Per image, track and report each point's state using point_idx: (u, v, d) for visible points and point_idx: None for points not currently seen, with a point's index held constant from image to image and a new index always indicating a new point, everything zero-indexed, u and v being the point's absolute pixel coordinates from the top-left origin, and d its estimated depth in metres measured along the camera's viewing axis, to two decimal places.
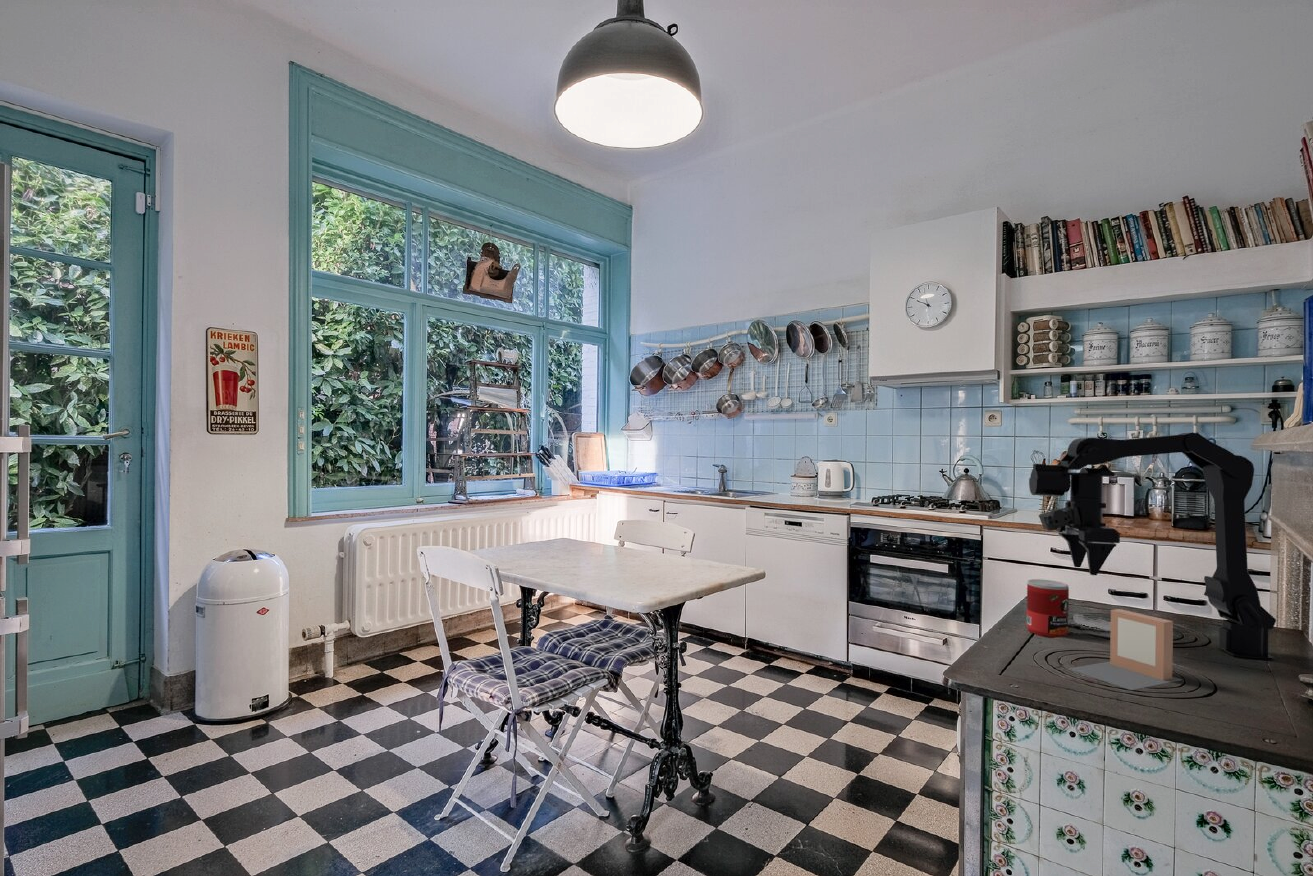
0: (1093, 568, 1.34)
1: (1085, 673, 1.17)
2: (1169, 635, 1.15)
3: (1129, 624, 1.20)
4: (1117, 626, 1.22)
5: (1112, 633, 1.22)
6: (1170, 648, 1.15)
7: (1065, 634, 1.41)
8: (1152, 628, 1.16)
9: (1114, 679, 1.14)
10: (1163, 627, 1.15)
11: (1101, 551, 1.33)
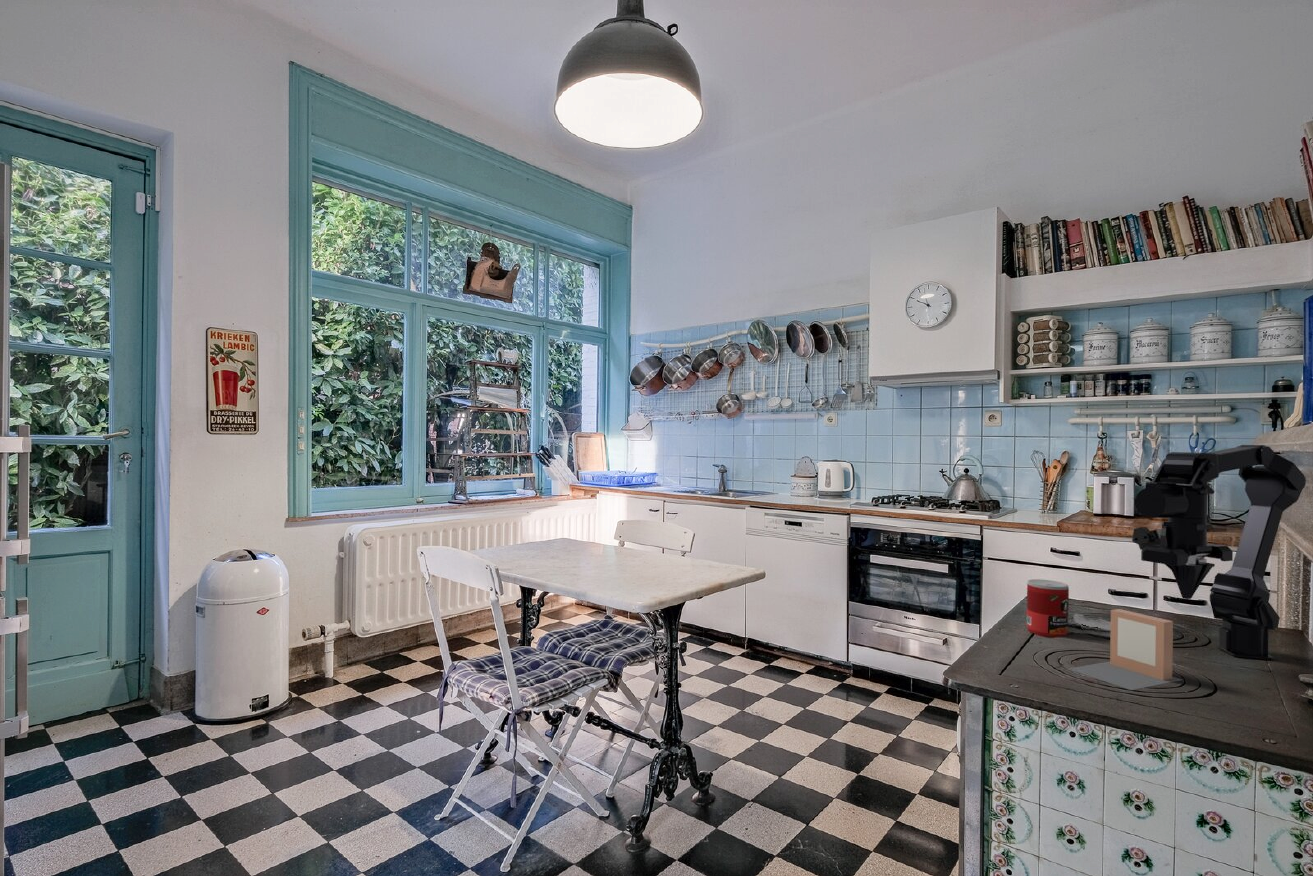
0: (1182, 591, 1.27)
1: (1085, 673, 1.17)
2: (1169, 635, 1.15)
3: (1129, 624, 1.20)
4: (1117, 626, 1.22)
5: (1112, 633, 1.22)
6: (1170, 648, 1.15)
7: (1065, 634, 1.41)
8: (1152, 628, 1.16)
9: (1114, 679, 1.14)
10: (1163, 627, 1.15)
11: (1187, 573, 1.25)
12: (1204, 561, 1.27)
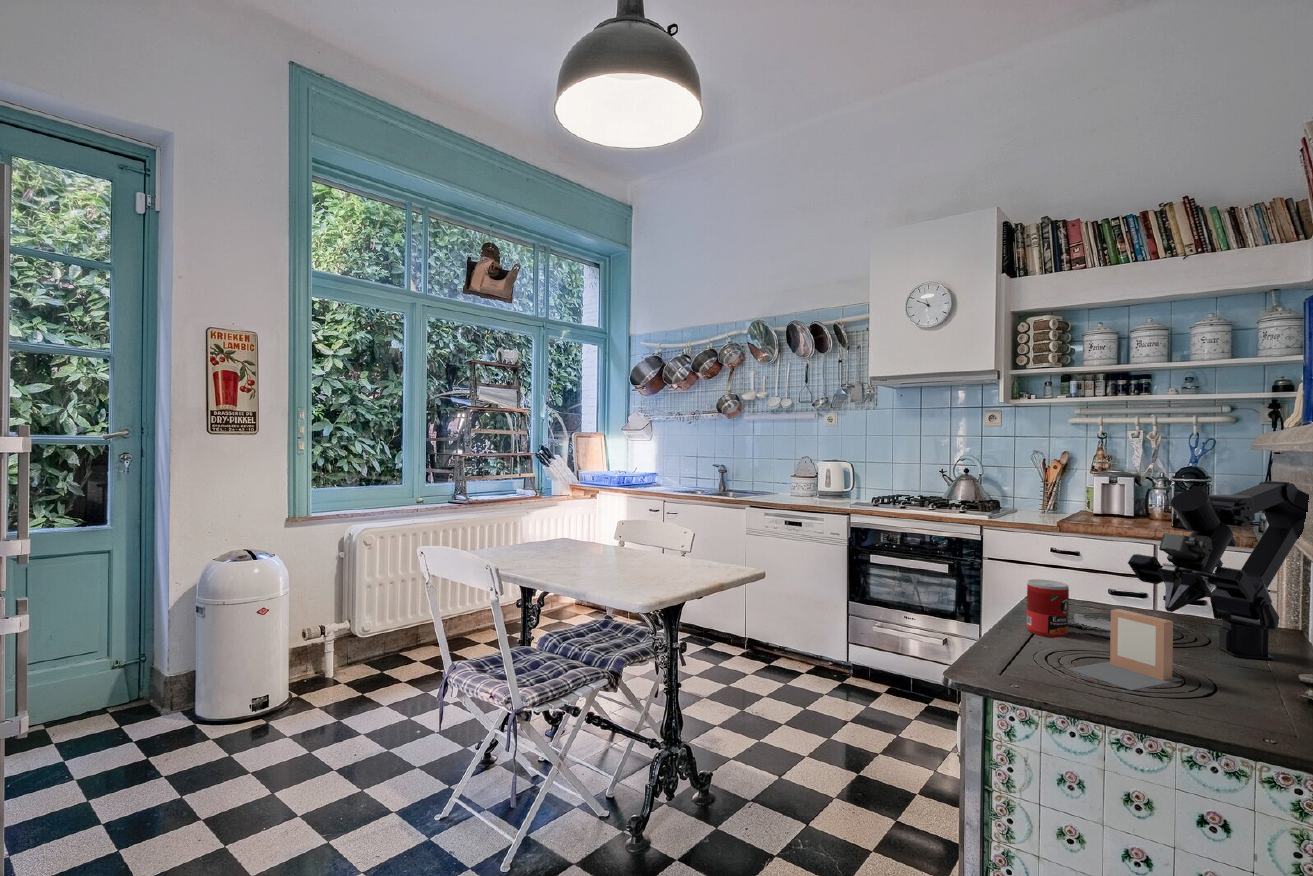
0: (1176, 604, 1.22)
1: (1085, 673, 1.17)
2: (1169, 635, 1.15)
3: (1129, 624, 1.20)
4: (1117, 626, 1.22)
5: (1112, 633, 1.22)
6: (1170, 648, 1.15)
7: (1065, 634, 1.41)
8: (1152, 628, 1.16)
9: (1114, 679, 1.14)
10: (1163, 627, 1.15)
11: (1191, 594, 1.22)
12: None
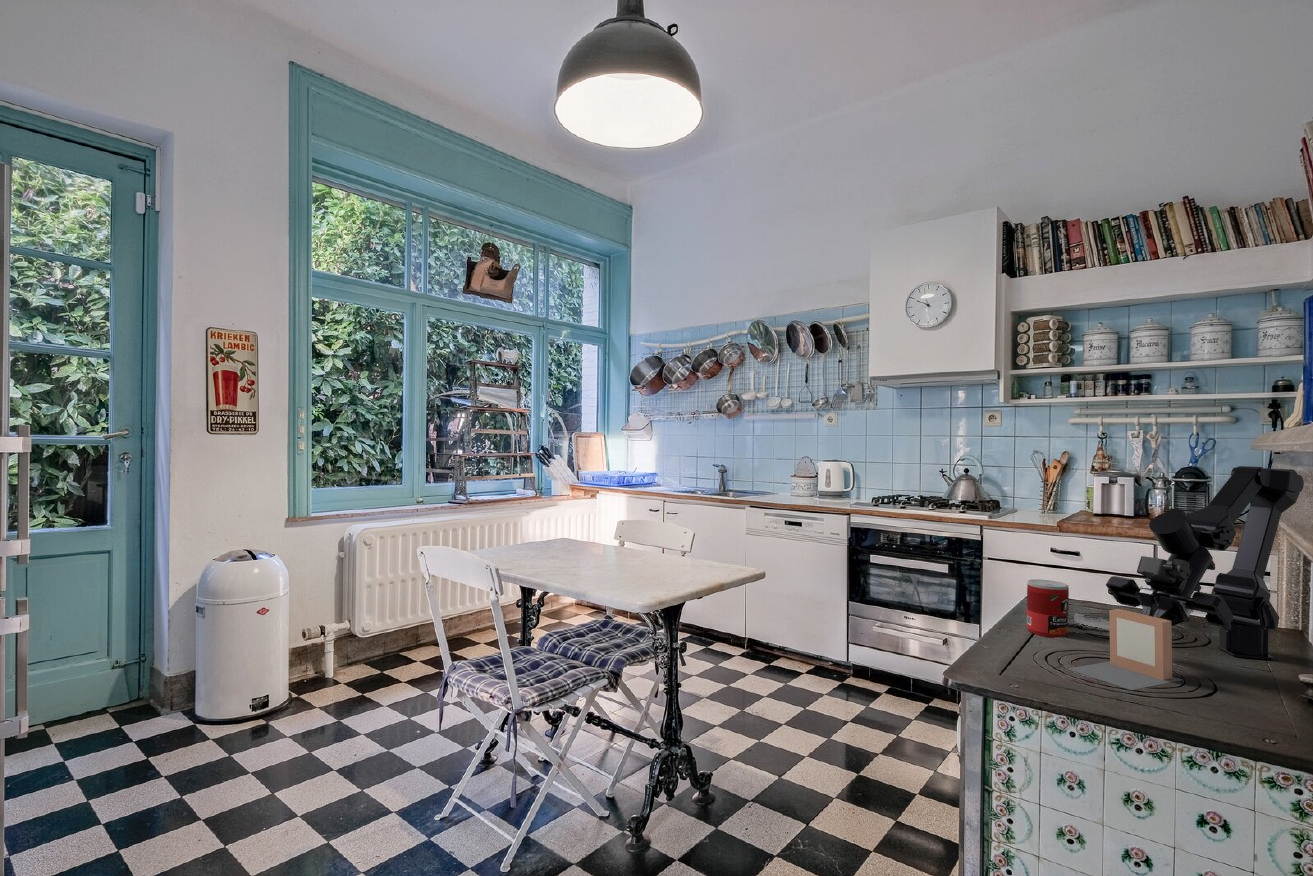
0: None
1: (1085, 673, 1.17)
2: (1168, 634, 1.15)
3: (1128, 624, 1.19)
4: (1116, 626, 1.21)
5: (1111, 633, 1.22)
6: (1169, 647, 1.15)
7: (1065, 634, 1.41)
8: (1151, 628, 1.16)
9: (1114, 679, 1.14)
10: (1161, 627, 1.14)
11: (1169, 619, 1.20)
12: None
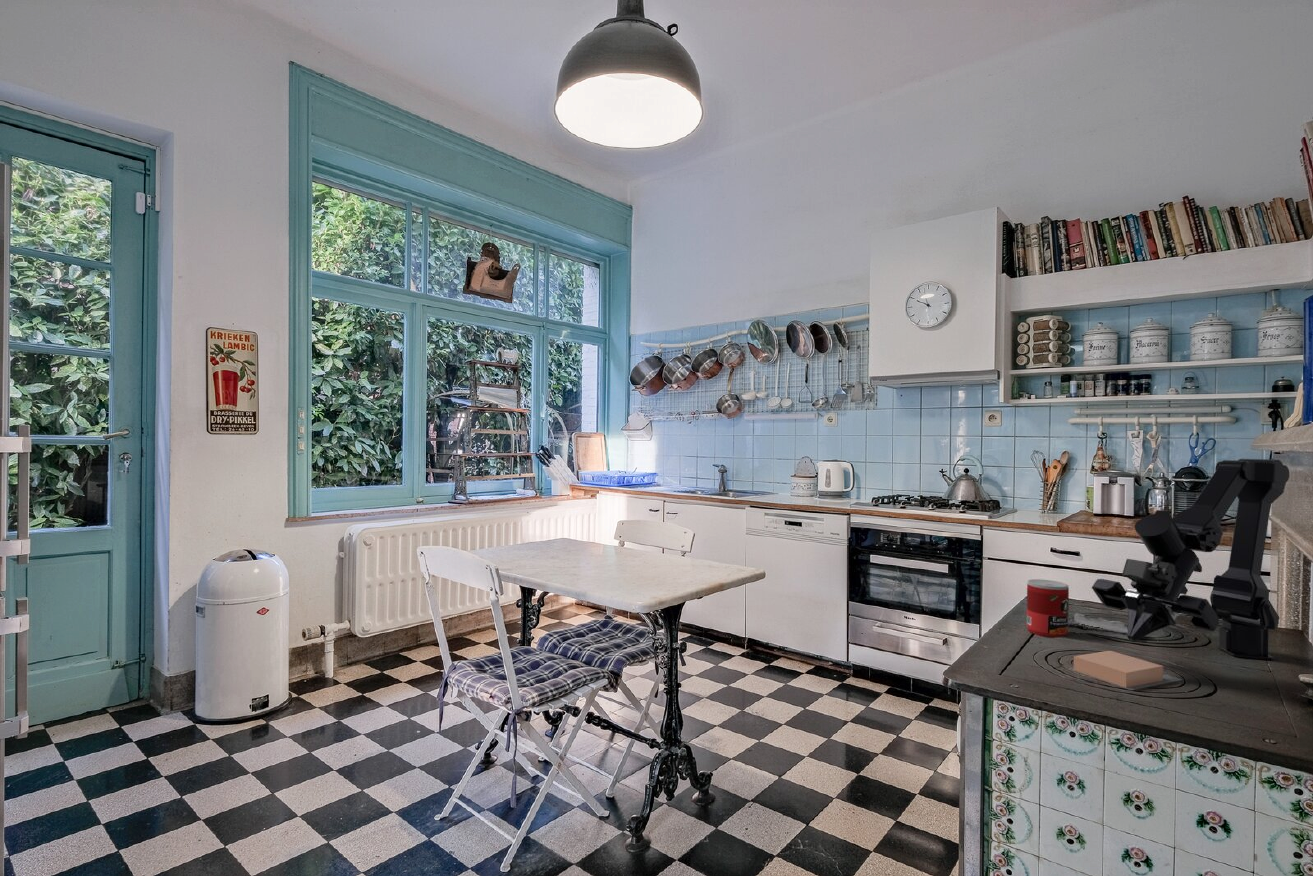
0: (1138, 633, 1.17)
1: None
2: (1134, 676, 1.11)
3: None
4: None
5: None
6: (1143, 673, 1.12)
7: (1065, 634, 1.41)
8: None
9: None
10: (1128, 686, 1.11)
11: (1155, 622, 1.18)
12: None
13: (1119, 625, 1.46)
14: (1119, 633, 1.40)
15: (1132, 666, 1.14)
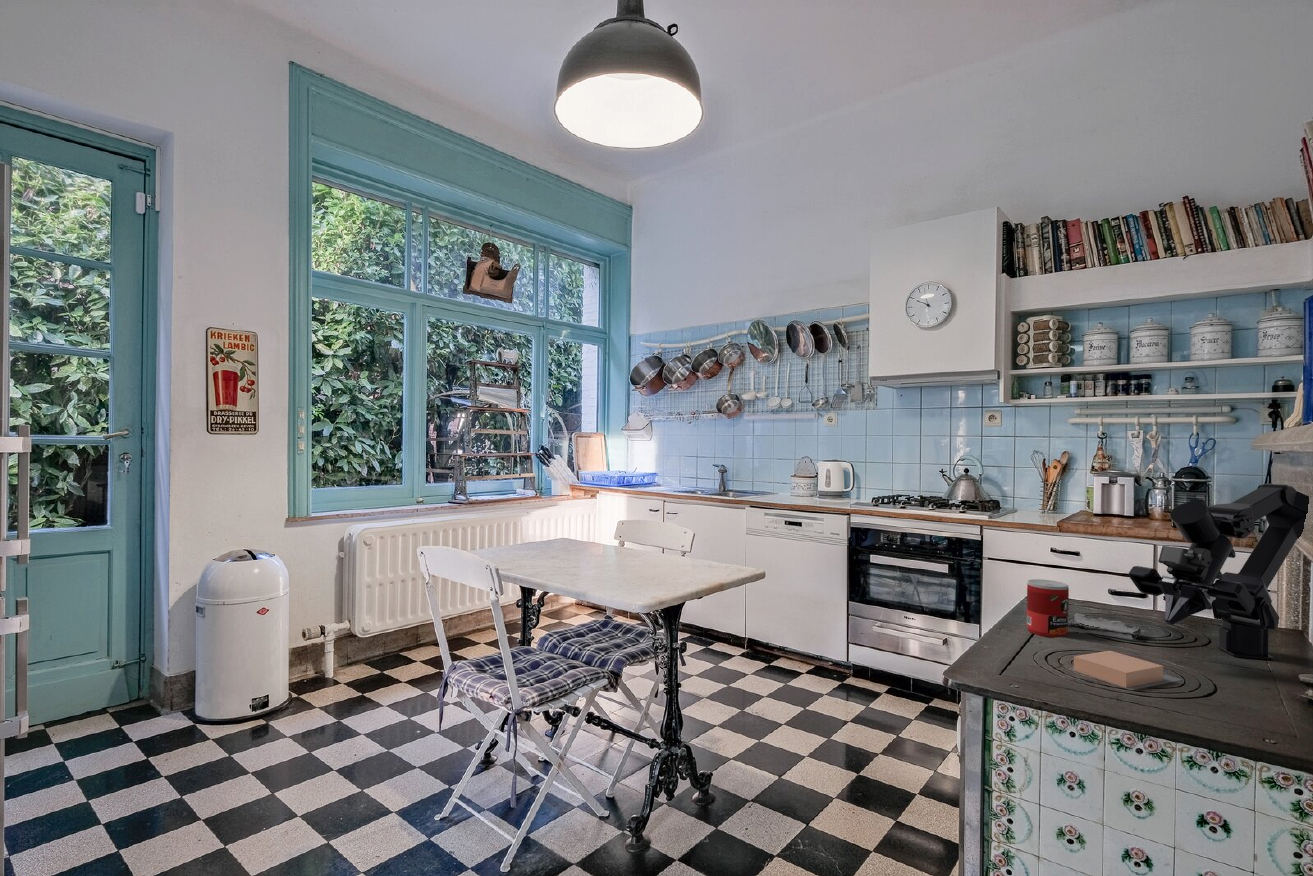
0: (1176, 617, 1.22)
1: None
2: (1134, 676, 1.11)
3: None
4: None
5: None
6: (1143, 673, 1.12)
7: (1065, 634, 1.41)
8: None
9: None
10: (1128, 686, 1.11)
11: (1191, 606, 1.22)
12: None
13: (1119, 625, 1.47)
14: (1120, 633, 1.40)
15: (1132, 666, 1.14)
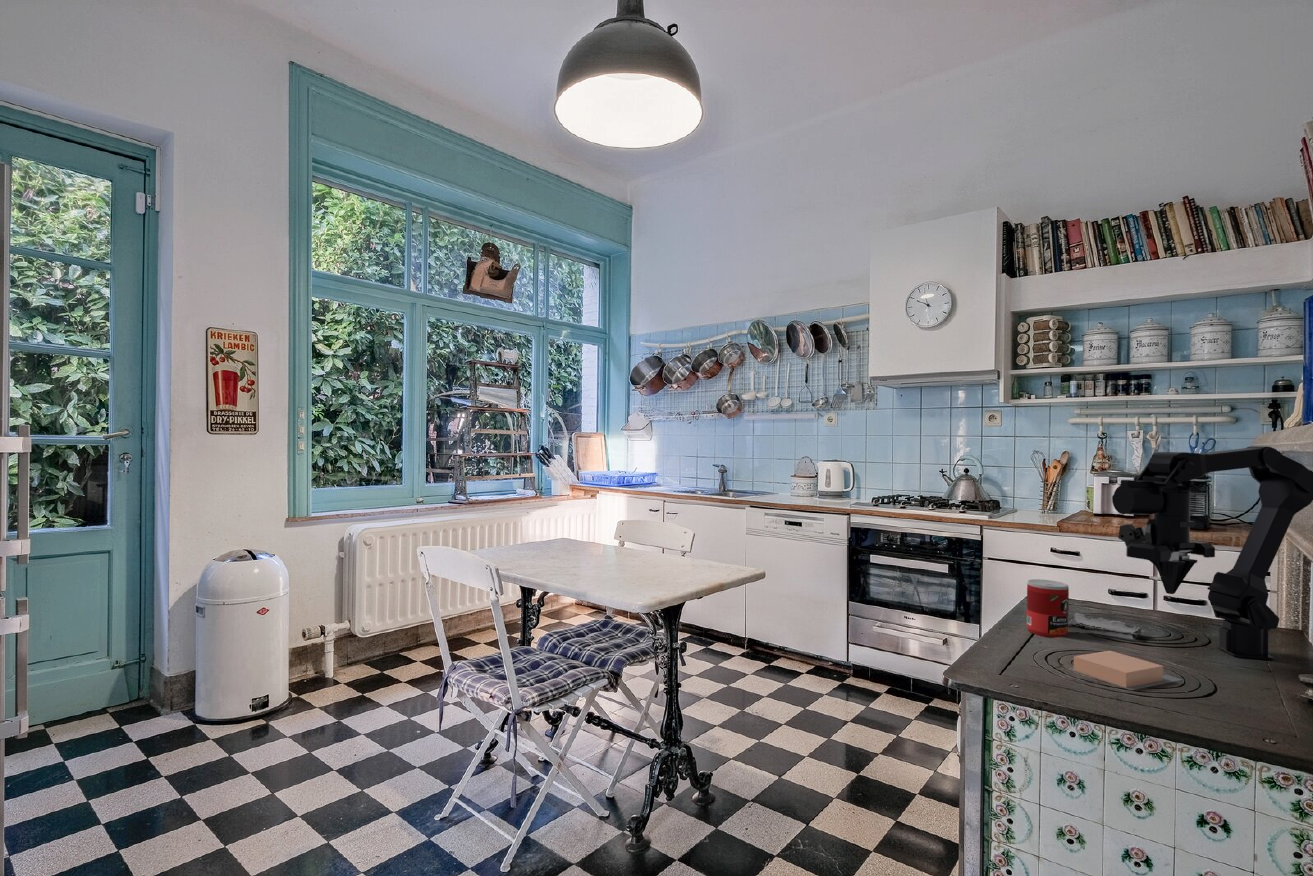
0: (1166, 586, 1.31)
1: None
2: (1134, 676, 1.11)
3: None
4: None
5: None
6: (1143, 673, 1.12)
7: (1065, 634, 1.41)
8: None
9: None
10: (1128, 686, 1.11)
11: (1171, 569, 1.30)
12: (1187, 557, 1.31)
13: (1119, 625, 1.47)
14: (1120, 633, 1.40)
15: (1132, 666, 1.14)
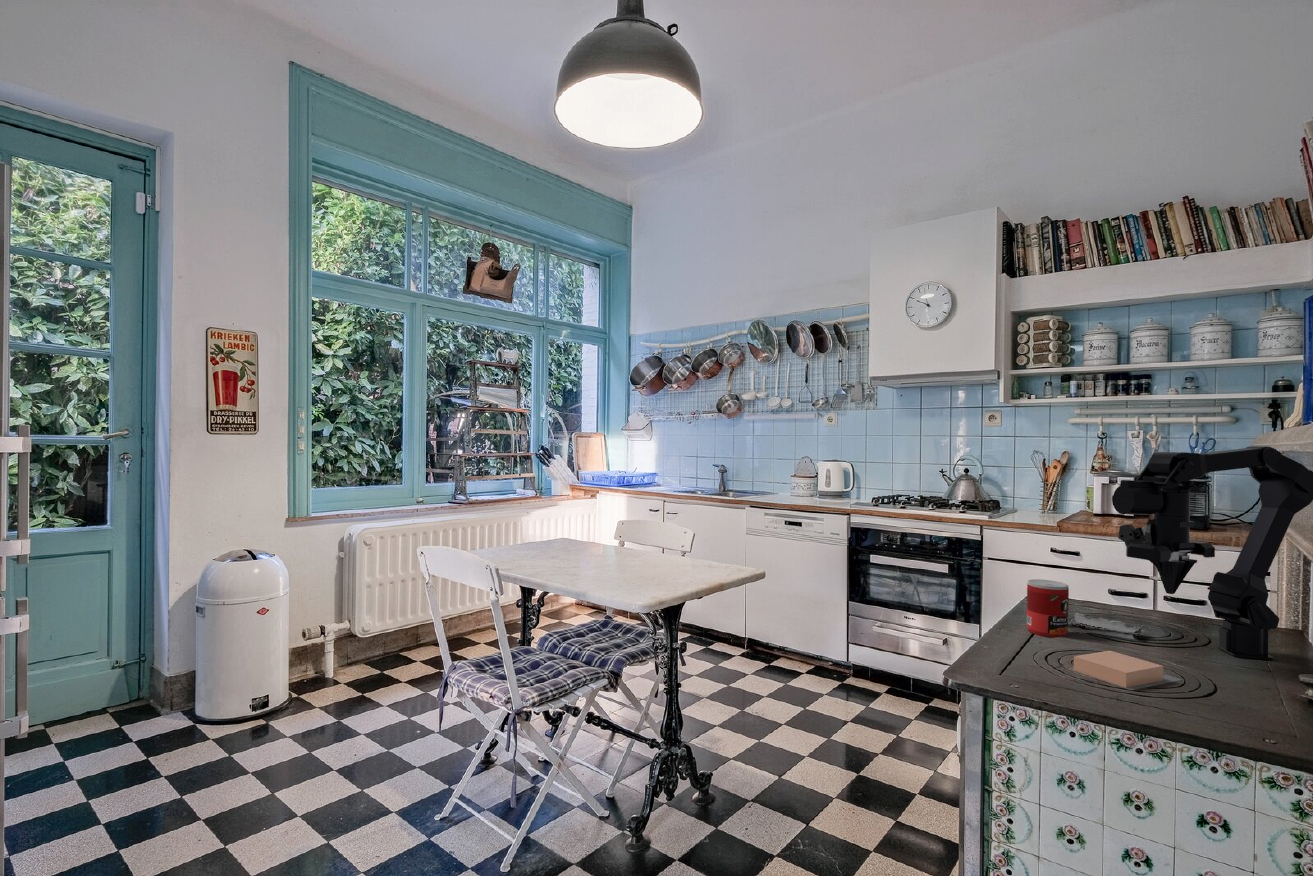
0: (1166, 586, 1.31)
1: None
2: (1134, 676, 1.11)
3: None
4: None
5: None
6: (1143, 673, 1.12)
7: (1065, 634, 1.41)
8: None
9: None
10: (1128, 686, 1.11)
11: (1171, 569, 1.30)
12: (1187, 557, 1.31)
13: (1119, 625, 1.47)
14: (1121, 633, 1.40)
15: (1132, 666, 1.14)
